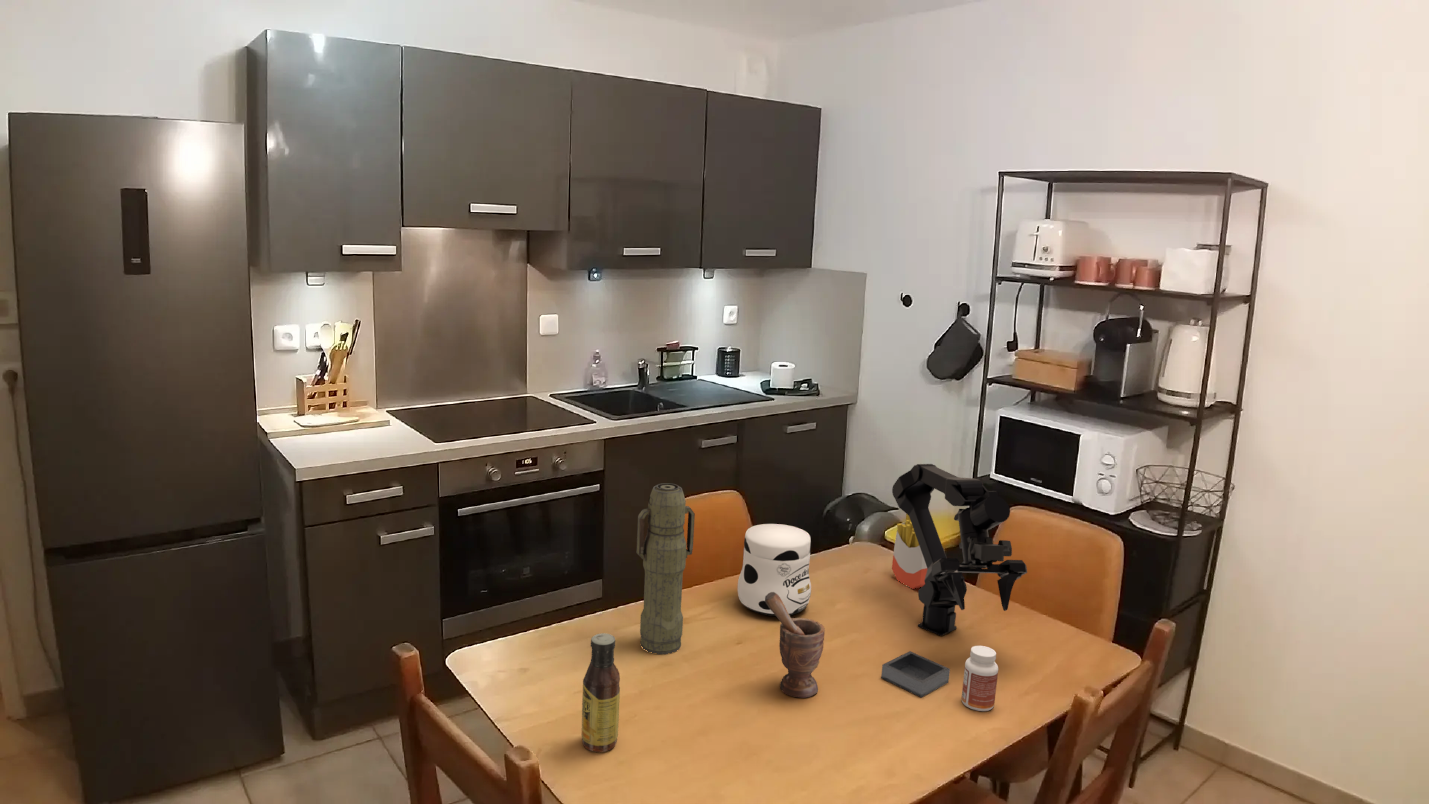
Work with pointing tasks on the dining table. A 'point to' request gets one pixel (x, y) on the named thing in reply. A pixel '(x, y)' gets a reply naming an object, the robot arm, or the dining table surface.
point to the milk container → (775, 568)
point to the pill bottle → (980, 679)
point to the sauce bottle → (601, 696)
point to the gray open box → (915, 674)
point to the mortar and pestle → (797, 649)
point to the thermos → (664, 567)
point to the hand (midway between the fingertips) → (984, 610)
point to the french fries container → (908, 557)
